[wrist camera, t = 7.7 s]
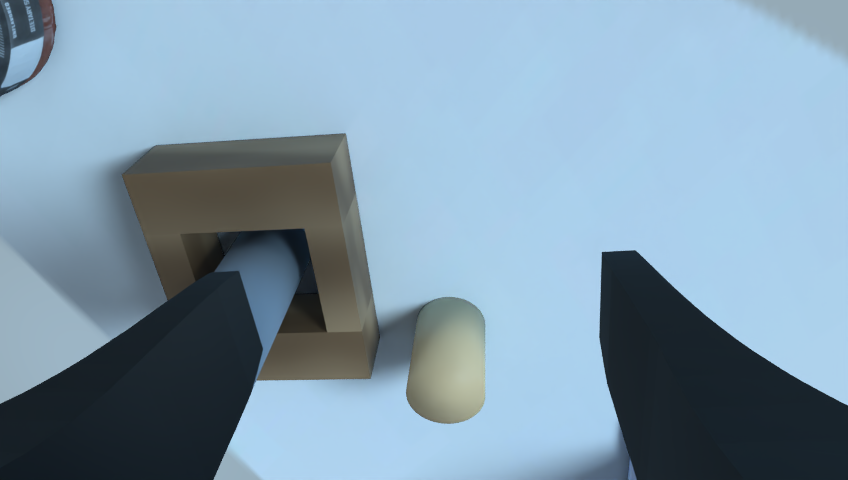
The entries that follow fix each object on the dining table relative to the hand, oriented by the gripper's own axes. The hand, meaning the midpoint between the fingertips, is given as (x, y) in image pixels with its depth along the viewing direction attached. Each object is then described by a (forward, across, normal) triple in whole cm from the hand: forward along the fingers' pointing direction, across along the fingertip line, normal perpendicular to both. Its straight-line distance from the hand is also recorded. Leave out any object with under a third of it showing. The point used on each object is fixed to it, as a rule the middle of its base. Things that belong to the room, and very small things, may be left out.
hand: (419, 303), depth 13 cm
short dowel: (+10, +1, +9) cm, 14 cm away
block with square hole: (+10, +7, +5) cm, 13 cm away
